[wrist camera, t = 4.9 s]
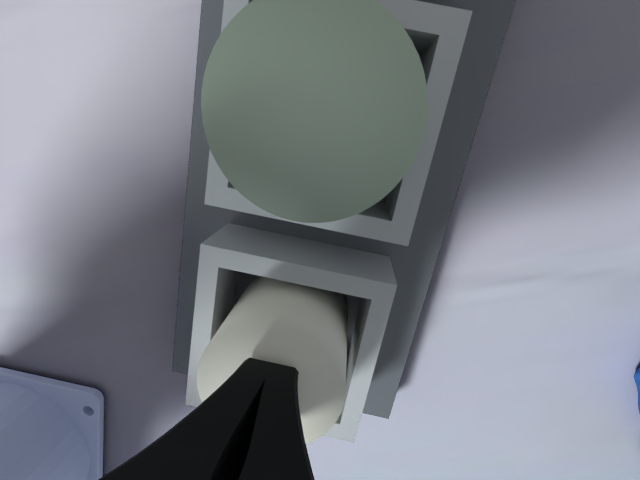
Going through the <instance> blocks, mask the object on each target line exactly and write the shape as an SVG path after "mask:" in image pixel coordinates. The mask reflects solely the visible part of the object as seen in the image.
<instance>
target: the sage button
mask: <svg viewBox="0 0 640 480" xmlns="http://www.w3.org/2000/svg"><path fill="white" fill-rule="evenodd" d="M427 108H428V97H427V85H426V79H425V74H424V69H423V66H422V63H421V60H420V57H419V54H418V52H417V50H416V48H415V46H414V44H413V42H412V40H411V38H410V37H409V35H408V34H407V32H406V31H405V29H404V28H403V26H402V25H401V24H400V23H399V21H398V20H397V19H396V18H395V17H394V16H393V15H392V14H391V13H390V12H389V11H388V10H387V9H386V8H385V7H383V6H382V5H381V4H380V3H379V2H377V1H375V0H253V1H252V2H250V3H249V4H248V5H246V6H245V7H244V8H243V9H242V10H241V11H240V12H238V13H237V14H236V15H235V16H234V17H233V18H232V19H231V21H230V22H229V23H228V25H227V26H226V27H225V29H224V30H223V31H222V33H221V34H220V36H219V38H218V40H217V41H216V43H215V45H214V47H213V49H212V52H211V54H210V56H209V59H208V62H207V65H206V69H205V73H204V77H203V84H202V90H201V111H202V122H203V126H204V131H205V136H206V139H207V142H208V145H209V148H210V150H211V153H212V155H213V157H214V159H215V161H216V163H217V165H218V166H219V168H220V169H221V171H222V173H223V174H224V176H225V177H226V178H227V179H228V181H229V182H230V183H231V184H232V185H233V187H234V188H235V189H236V190H237V191H238V192H239V193H241V194H242V195H243V196H244V197H245V198H246V199H248V200H249V201H250V202H252V203H253V204H254V205H256V206H258V207H259V208H261V209H263V210H265V211H266V212H269V213H271V214H273V215H276V216H278V217H281V218H285V219H288V220H292V221H298V222H305V223H323V222H332V221H337V220H341V219H345V218H348V217H351V216H353V215H356V214H358V213H361V212H362V211H364V210H366V209H368V208H370V207H372V206H373V205H375V204H376V203H377V202H379V201H380V200H381V199H383V198H384V197H385V196H386V195H387V194H388V193H389V192H391V191H392V190H393V189H394V188H395V187H396V185H397V184H398V183H399V182H400V181H401V179H402V178H403V177H404V176H405V174H406V172H407V171H408V169H409V168H410V166H411V165H412V163H413V161H414V159H415V156H416V154H417V152H418V150H419V147H420V144H421V141H422V138H423V135H424V130H425V125H426V120H427Z"/></svg>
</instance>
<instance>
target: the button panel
mask: <svg viewBox="0 0 640 480" xmlns="http://www.w3.org/2000/svg"><path fill="white" fill-rule="evenodd" d="M252 1H253V0H202V5H201V17H200V30H199V42H198V55H197V67H196V80H195V92H194V104H193V117H192V129H191V142H190V154H189V167H188V179H187V191H186V204H185V216H184V229H183V241H182V254H181V266H180V278H179V291H178V303H177V316H176V328H175V341H174V353H173V365H172V371H176V372H180V373H185V374H188V380H187V390H186V400H185V405H189V406H193V407H198V406H199V405H200V404H201V403H202V401H201V399H200V396H199V392H198V389H197V368H198V364H199V361H200V358H201V356H202V354H203V352H204V350H205V348H206V347H207V346H208V344H209V343H210V341H211V340H212V338H213V337H214V335H215V334H216V332H217V331H218V329H219V328H220V326H221V325H222V323H223V322H224V320H225V319H226V317H227V316H228V315H229V313H230V312H231V310H232V309H233V307H234V306H235V304H236V303H237V301H238V300H239V298H240V297H241V295H242V294H243V292H244V291H245V289H246V288H247V287H248V285H249V284H250V283H251V281H252V280H253V279H254V278H255V277H257V276H263V277H267V278H272V279H277V280H281V281H286V282H291V283H295V284H300V285H305V286H310V287H314V288H319V289H324V290H328V291H333V292H338V293H341V294H342V295H343V297H344V300H345V302H346V306H347V310H348V335H347V362H346V389H345V401H344V406H343V409H342V412H341V414H340V416H339V418H338V420H337V421H336V422H335V424H334V425H333V427H332V428H331V429H330V430H329V431H328V432H327V433H325V434H324V435H323V436H327V437H331V438H336V439H340V440H345V441H349V442H354V441H355V438H356V434H357V430H358V427H359V423H360V419H361V416H362V413H365V414H370V415H374V416H379V417H383V418H388V419H389V416H390V413H391V409H392V406H393V403H394V399H395V396H396V393H397V389H398V386H399V383H400V380H401V376H402V373H403V370H404V366H405V363H406V360H407V356H408V353H409V350H410V347H411V343H412V340H413V337H414V333H415V330H416V327H417V323H418V320H419V317H420V314H421V310H422V307H423V304H424V300H425V297H426V294H427V290H428V287H429V284H430V281H431V277H432V274H433V271H434V267H435V264H436V261H437V257H438V254H439V251H440V248H441V244H442V241H443V238H444V234H445V231H446V228H447V224H448V221H449V218H450V214H451V211H452V208H453V205H454V201H455V198H456V195H457V191H458V188H459V185H460V181H461V178H462V175H463V172H464V168H465V165H466V162H467V158H468V155H469V152H470V148H471V145H472V142H473V139H474V135H475V132H476V129H477V125H478V122H479V119H480V115H481V112H482V109H483V106H484V102H485V99H486V96H487V92H488V89H489V86H490V82H491V79H492V76H493V73H494V69H495V66H496V63H497V59H498V56H499V53H500V49H501V46H502V43H503V40H504V36H505V33H506V30H507V26H508V23H509V20H510V16H511V13H512V10H513V7H514V3H515V0H375V1H377V2H379V3H380V4H381V5H382V6H383V7H385V8H386V9H387V10H388V11H389V12H390V13H391V14H392V15H393V16H394V17H395V18H396V19H397V20H398V21H399V23H400V24H401V25H402V26H403V28H404V29H405V31H406V32H407V34H408V35H409V37H410V38H411V40H412V42H413V44H414V46H415V48H416V50H417V52H418V54H419V57H420V60H421V63H422V66H423V69H424V74H425V79H426V85H427V97H428V108H427V120H426V125H425V130H424V135H423V138H422V141H421V144H420V147H419V150H418V152H417V154H416V156H415V159H414V161H413V163H412V165H411V166H410V168H409V169H408V171H407V172H406V174H405V176H404V177H403V178H402V179H401V181H400V182H399V183H398V184H397V185H396V187H395V188H394V189H393V190H392V191H391V192H389V193H388V194H387V195H386V196H385V197H384V198H383V199H381V200H380V201H379V202H377V203H376V204H375V205H373V206H372V207H370V208H368V209H366V210H364V211H362V212H361V213H358V214H356V215H353V216H351V217H348V218H345V219H341V220H337V221H332V222H323V223H305V222H298V221H292V220H288V219H285V218H281V217H278V216H276V215H273V214H271V213H269V212H266V211H265V210H263V209H261V208H259V207H258V206H256V205H254V204H253V203H252V202H250V201H249V200H248V199H246V198H245V197H244V196H243V195H242V194H241V193H239V192H238V191H237V190H236V189H235V188H234V187H233V185H232V184H231V183H230V182H229V181H228V179H227V178H226V177H225V176H224V174H223V173H222V171H221V169H220V168H219V166H218V165H217V163H216V161H215V159H214V157H213V155H212V153H211V150H210V148H209V145H208V142H207V139H206V136H205V131H204V126H203V122H202V111H201V90H202V84H203V77H204V73H205V69H206V65H207V62H208V59H209V56H210V54H211V52H212V49H213V47H214V45H215V43H216V41H217V40H218V38H219V36H220V34H221V33H222V31H223V30H224V29H225V27H226V26H227V25H228V23H229V22H230V21H231V19H232V18H233V17H234V16H235V15H236V14H237V13H238V12H240V11H241V10H242V9H243V8H244V7H245V6H246V5H248V4H249V3H250V2H252Z"/></svg>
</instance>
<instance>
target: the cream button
mask: <svg viewBox="0 0 640 480" xmlns="http://www.w3.org/2000/svg"><path fill="white" fill-rule="evenodd" d="M347 335H348V310H347V306H346V302H345V300H344V297H343V295H342V294H341V293H338V292H333V291H328V290H324V289H319V288H314V287H310V286H305V285H300V284H295V283H291V282H286V281H281V280H277V279H272V278H267V277H263V276H257V277H255V278H254V279H253V280H252V281H251V283H250V284H249V285H248V287H247V288H246V289H245V291H244V292H243V294H242V295H241V297H240V298H239V300H238V301H237V303H236V304H235V306H234V307H233V309H232V310H231V312H230V313H229V315H228V316H227V317H226V319H225V320H224V322H223V323H222V325H221V326H220V328H219V329H218V331H217V332H216V334H215V335H214V337H213V338H212V340H211V341H210V343H209V344H208V346H207V347H206V348H205V350H204V352H203V354H202V356H201V358H200V361H199V364H198V368H197V389H198V392H199V396H200V399H201V401H202V402H203V401H205V400H206V399H207V398H208V397H209V396H210V395H211V394H212V393H213V392H214V391H216V390H217V389H218V388H219V387H220V386H221V385H222V384H223V383H224V382H225V381H226V380H227V379H228V378H229V377H230V376H231V375H232V374H233V373H234V372H235V371H236V370H237V369H238V368H239V366H240V365H241V364H242V363H243V362H244V361H245V360H246V359H248V358H254V359H258V360H263V361H268V362H272V363H277V364H281V365H286V366H291V367H295V368H296V369H297V370H298V372H299V374H298V400H299V409H300V417H301V422H302V428H303V434H304V439H305V444H308V443H310V442H313V441H315V440H316V439H318V438H320V437H321V436H323V435H324V434H325V433H327V432H328V431H329V430H330V429H331V428H332V427H333V425H334V424H335V422H336V421H337V420H338V418H339V416H340V414H341V412H342V409H343V406H344V401H345V389H346V362H347Z"/></svg>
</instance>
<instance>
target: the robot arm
mask: <svg viewBox="0 0 640 480" xmlns="http://www.w3.org/2000/svg"><path fill="white" fill-rule="evenodd" d="M298 374H299V372H298V370H297V369H296V368H295V367H291V366H286V365H281V364H277V363H272V362H268V361H263V360H258V359H254V358H248V359H246V360H245V361H244V362H243V363H242V364H241V365H240V366H239V368H238V369H237V370H236V371H235V372H234V373H233V374H232V375H231V376H230V377H229V378H228V379H227V380H226V381H225V382H224V383H223V384H222V385H221V386H220V387H219V388H218V389H217V390H216V391H214V392H213V393H212V394H211V395H210V396H209V397H208V398H207V399H206V400H205V401H203V402H202V403H201V404H200V405H199V406H198V407H197V408H196V409H195V410H193V411H192V412H191V413H190V414H189V415H187V416H186V417H185V418H184V419H182V420H181V421H180V422H179V423H177V424H176V425H175V426H174V427H173V428H171V429H170V430H169V431H168V432H166V433H165V434H164V435H162V436H161V437H160V438H158V439H157V440H156V441H154V442H153V443H152V444H150V445H149V446H148V447H146V448H145V449H144V450H142V451H141V452H139V453H138V454H136V455H135V456H133V457H132V458H131V459H129V460H128V461H126V462H125V463H123V464H122V465H120V466H119V467H117V468H116V469H114V470H113V471H111V472H109V473H108V474H106V475H105V476H103V420H104V398H103V395H102V393H101V392H100V391H99V390H97V389H95V388H91V387H87V386H82V385H78V384H73V383H69V382H64V381H60V380H55V379H51V378H47V377H42V376H38V375H33V374H29V373H24V372H20V371H15V370H11V369H7V368H2V367H0V480H314V476H313V472H312V469H311V465H310V461H309V457H308V453H307V448H306V444H305V439H304V434H303V428H302V422H301V417H300V409H299V400H298Z"/></svg>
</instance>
